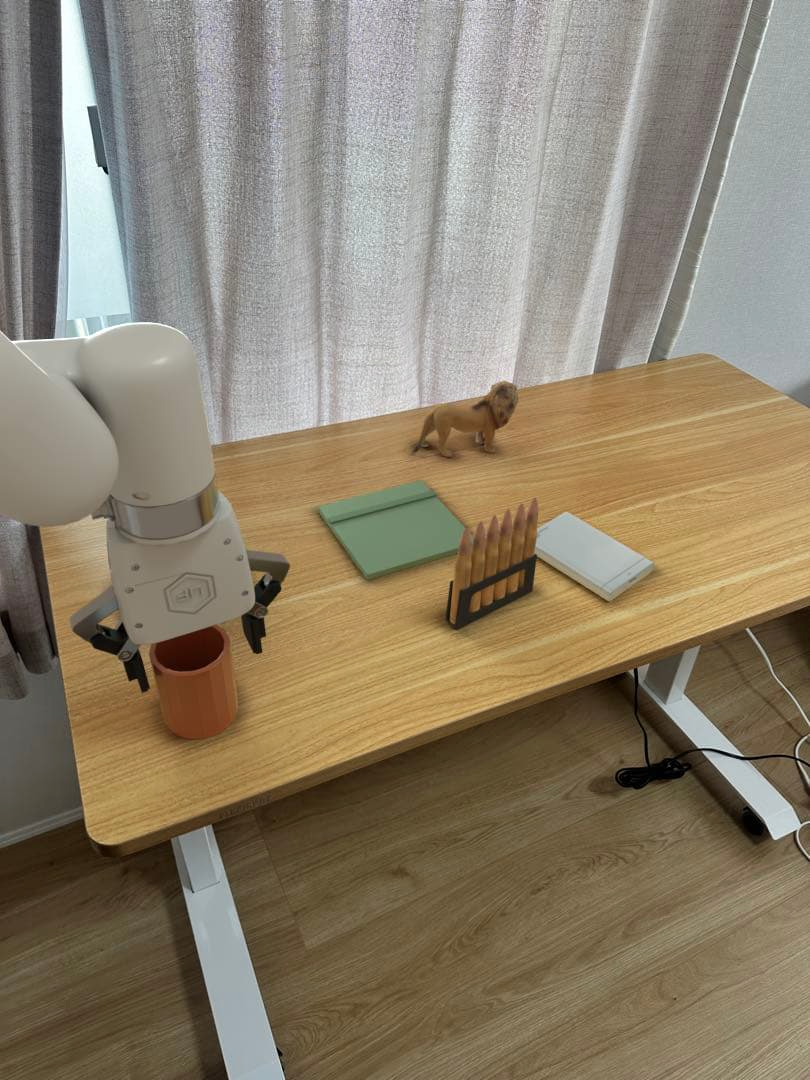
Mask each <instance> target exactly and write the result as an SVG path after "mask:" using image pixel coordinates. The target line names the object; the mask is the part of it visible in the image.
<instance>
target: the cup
mask: <svg viewBox="0 0 810 1080" xmlns="http://www.w3.org/2000/svg"><path fill="white" fill-rule="evenodd" d="M231 645H232V643H231V640H230V637H229V635H228V633H227V630H225V629H224V628H223V627H222V626H221V625H219V624H216V625H213V626H210V627H207V628H204V629H201V630H197V631H194V632H191V633H188V634H185V635H181V636H178V637H175V638H172V639H168V640H165V641H162V642H158V643H154V644H150V648H149V652H148V656H149V661H150V666H151V669H152V670H151V671H152V675H153V679H154V684H155V687H156V692H157V696H158V701H159V705H160V709H161V713H162V717H163V721H164V723H165V725H166V728H167V729H168V730H169V731H170V732H171V733H172V734H175V735H176V736H178V737H180V738H184V739H188V740H201V739H202V740H203V739H207V738H210V737H213V736H216V735H217V734H220V733H221V732H223V731H225V730H226V729H227V728H228V727H229V726H230V725H231V724H232V723H233V722H234V720H235V718H236V716H237V714H238V711H239V696H238V689H237V682H236V681H237V680H236V673H235V667H234V660H233V653H232V646H231Z"/></svg>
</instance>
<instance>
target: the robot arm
mask: <svg viewBox="0 0 810 1080" xmlns="http://www.w3.org/2000/svg"><path fill="white" fill-rule="evenodd" d="M201 377H202V376H201V372H200V365H199V360H198V356H197V352H196V349H195V347H194V346H193V343H192V342H191V340H190V339H189V337H187V335H186V334H184V332H182V331H181V330H178V328H177V329H176V328H175V327H173V326H169V325H166V324H162V323H158V322H131V323H129V322H128V323H123V324H118V325H113V326H110V327H107V328H104V329H101V330H100V331H97V332H95V333H93V334H91V335H87V336H79V337H78V336H77V337H64V338H50V339H28V340H27V339H25V340H11V339H10V338H9V337H8V336H7V335H5V334H4V333H3V331H2V330H0V516H3V517H5V518H7V519H9V520H11V521H14V522H17V523H20V524H24V525H28V526H33V527H46V528H47V527H48V528H49V527H50V528H51V527H53V528H54V527H59V526H60V527H61V526H67V525H70V524H73V523H77V522H79V521H82V520H83V519H86V518H87V517H89V516H91V519H92V521H94V520H99V519H104V520H106V519H107V520H106V531H105V533H106V534H105V535H106V550H107V560H108V568H109V572H110V573H109V574H110V578H111V584H112V585H111V586H110V587H108V588H106V589H105V590H104V591H102V592H101V593H100V594H99V595H97V596H96V597H95V598H93V599H92V600H91V601H89V602H88V603H87V604H85V605H84V606H82V607H81V608H80V609H78V610H77V611H76V612H74V613H73V614H72V615H71V616H70V617H69V623H70V627H71V630H72V632H73V633H74V634H75V635H77V636H78V637H79V638H81V639H82V640H84V641H85V642H87V643H89V644H90V645H91V646H92V648H93V649H94V650H96V651H101V652H103V653H107V654H111V655H114V656H117V657H116V658H117V659H118V661H120V662H122V664H123V667H124V670H125V671H124V672H125V674H126V677H127V680H128V682H132V681H136V680H137V682H138V686H139V688H140V693H141V694H144V693H146V692H149V690H150V689H151V686H150V683H149V679H148V675H147V672H146V671H147V670H146V668H145V664H144V660H143V657H142V653H141V651H140V647H141V646H146V645H151V644H154V643H158V642H162V641H165V640H168V639H172V638H175V637H178V636H181V635H185V634H188V633H191V632H194V631H197V630H201V629H204V628H207V627H210V626H213V625H216V624H217V625H219V624H222V623H225V622H228V621H232V620H234V619H237V618H239V617H241V624H242V631H243V634H244V637H245V639H246V641H247V643H248V645H249V647H250V649H251V651H252V653H253V654H254V655H260V654H263V645H262V639H263V638H266V637H267V631H266V623H265V617H266V616H267V615H268V614H269V609H268V607H269V606H270V605H271V604H272V602H273V601H274V600H275V599H276V598H277V597H278V595H280V594H281V591H282V589H283V588H282V583H284V582H285V580H286V577H287V575H288V573H289V571H290V569H291V563H290V562H289V560H288V558H287V557H286V555H285V554H283V553H277V552H269V551H260V550H253V549H246V545H245V541H244V538H243V537H244V536H243V534H242V530H241V527H240V523H239V521H238V518H237V515H236V512H235V510H234V508H233V506H232V503H231V502H230V500H228V498H227V497H226V496H225V495H224V494H223V492H221V491H220V490H219V488H218V487H219V486H218V482H217V481H218V480H217V474H216V470H215V463H214V456H213V448H212V442H211V436H210V429H209V424H208V417H207V416H208V415H207V411H206V404H205V403H206V402H205V397H204V391H203V390H204V389H203V385H202V378H201ZM252 572H258V573H265V574H264V575H262V577H261V578H260V579H259V580H258V581H257V583H256V584H255V585H254V580H253V576H252ZM117 610H118V611H119V616H120V618H119V620H118V622H117V623H116V624H115V627H114V628H112V627H110V626H106V625H103V624H100V623H101V622H103V621H104V620H105V619H106V618H108V617H109V616H111V615H112V614H113V613H115V612H116V611H117Z"/></svg>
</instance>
